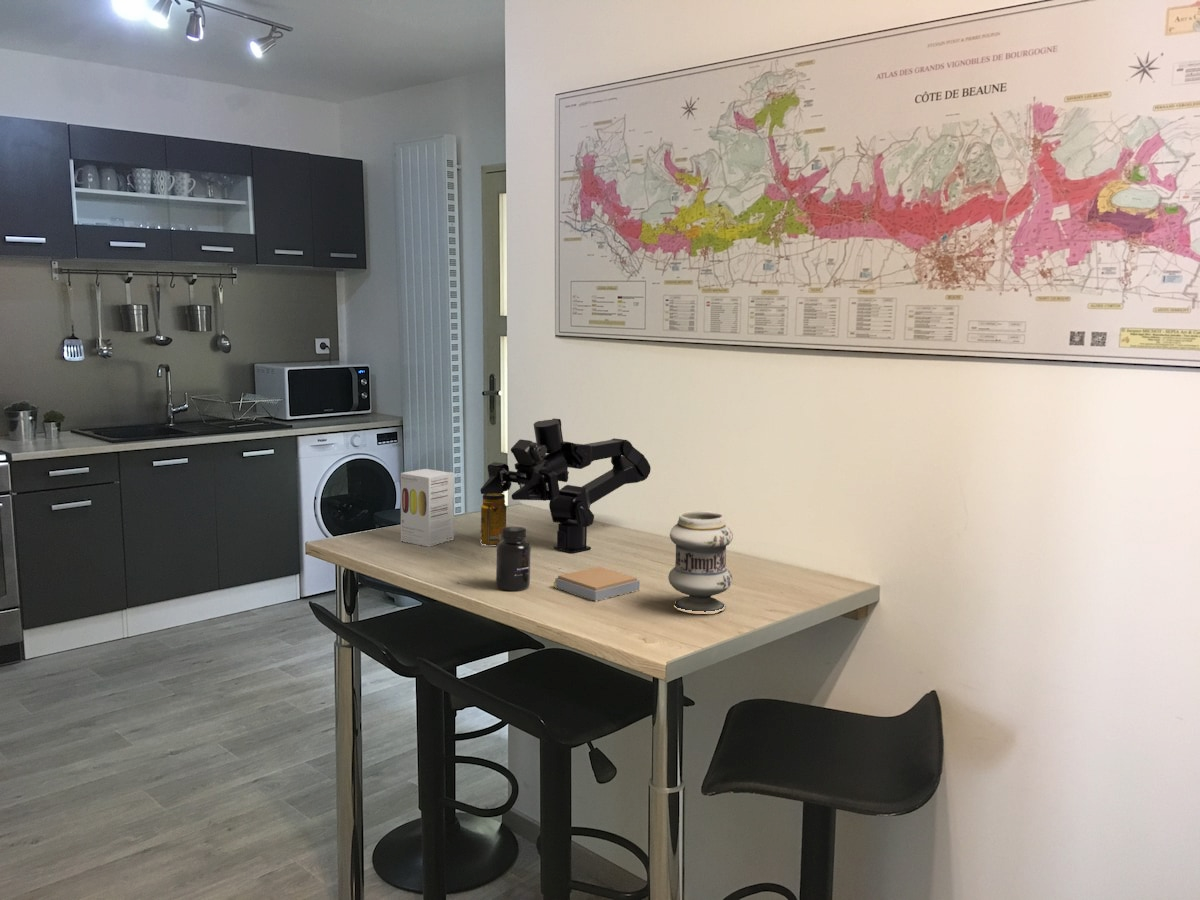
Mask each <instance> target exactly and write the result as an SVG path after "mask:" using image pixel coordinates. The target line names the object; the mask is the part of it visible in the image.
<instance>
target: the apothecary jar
mask: <svg viewBox="0 0 1200 900" xmlns="http://www.w3.org/2000/svg"><path fill="white" fill-rule="evenodd" d="M733 535H734V534H733V532H732V530H731V529H730V528H729V527H728V526H727V525H726V522H725V516H724V514H722V513H720V512H715V511H707V510H693V511H692V510H691V511H690V510H689V511H684V512H681V513H680V514H679V516H678V520H677V523H676V524H674V525H673V526H672V528H671V529H670V531H669V538H670V540H671V542H672V543H673V544H674V545H675V566H674V567H672V568H671V570H670V571H669V573H668V576H667V577H668V582H669V584H670V585H671V587H673V589H674V590H675V591H678V592H679V593H681V594H683V595H688V596H684V597H680V598H678V599H676V600H675V601H676V603H675V602H674V604H673V605H675V606H676V607H677V608H681V609H685V610H692V611H704V612H706V611H715V610H719V609H722V608H723V607H724V605H725V604H724V602H722V601H721V600H718V599H717V598H715V597H713V596H716V595H720V594H721V593H723V592H724V593H725V592H726V591H727V590H728V589H730V587H731V586H732V584H733V576H732V573H731V571H730V570H729V569H728V568H727V559H726V558H727V555H726V554H727V546H728V545H730V544H731V542H732V541H733V539H734V538H733V537H734V536H733Z"/></svg>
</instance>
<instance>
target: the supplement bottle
mask: <svg viewBox="0 0 1200 900" xmlns="http://www.w3.org/2000/svg"><path fill="white" fill-rule="evenodd" d="M502 538H503V540H502V541H501V542H499V543H498V545H497V546H496V564H495V565H496V568H495V569H496V572H495V574H496V577H495V579H496V580H495V585H496V587H497V588H498V589H499V590H503V591H507V592H508V591H511V592H517V591H518V592H519V590H520V591H524V589H525V590H526V589H528V588H529V587H530V585H531V584H530V583H531V555H532V554H531V552H532V550H531V549H532V547H531V544H530V543H529V542H528V541H527V540H526V539H527V528H525V527H522V526H506V527H505V528H503V529H502Z"/></svg>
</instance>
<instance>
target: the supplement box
mask: <svg viewBox="0 0 1200 900" xmlns="http://www.w3.org/2000/svg"><path fill="white" fill-rule="evenodd" d="M454 520H455V473H454V472H450V471H443V470H437V469H436V470H435V469H429V468H423V469H415V470H411V471H403V472H400V542H402V541H403V542H402V543H407V542H408V544H413V545H418V546H421V545H422V546H423V547H426V546H427V548H430V547H433V546H437V544H438V545H440V544H439V543H441V544H444V543H443V542H445V541H448V540H451V539H454V536H455V535H454V534H455V529H454V528H455V525H454V523H455V521H454ZM454 540H455V539H454ZM448 542H449V541H448ZM445 543H446V542H445Z"/></svg>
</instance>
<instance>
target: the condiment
mask: <svg viewBox="0 0 1200 900" xmlns="http://www.w3.org/2000/svg"><path fill="white" fill-rule="evenodd" d="M505 498H506V496H505V494H504V493H494V494H482V504H481V506H480V509H481V510H480V511H481V512H480V532H481V533H480V540H482V541H481V543H482V544H486V545H498V543H499V542H501V541H502V540H503V538H502V529H503V528H505V527H507V506H506V501H505ZM480 546H481V547H484V546H483V545H481V544H480Z"/></svg>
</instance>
